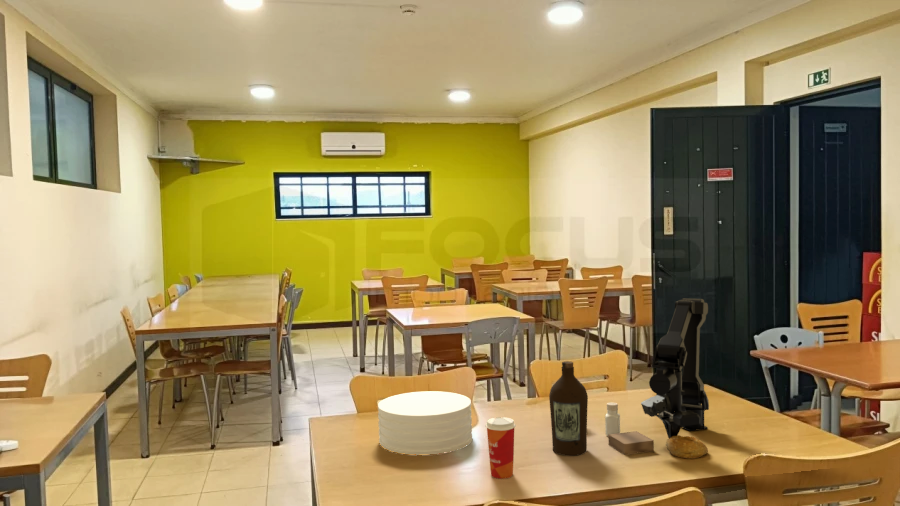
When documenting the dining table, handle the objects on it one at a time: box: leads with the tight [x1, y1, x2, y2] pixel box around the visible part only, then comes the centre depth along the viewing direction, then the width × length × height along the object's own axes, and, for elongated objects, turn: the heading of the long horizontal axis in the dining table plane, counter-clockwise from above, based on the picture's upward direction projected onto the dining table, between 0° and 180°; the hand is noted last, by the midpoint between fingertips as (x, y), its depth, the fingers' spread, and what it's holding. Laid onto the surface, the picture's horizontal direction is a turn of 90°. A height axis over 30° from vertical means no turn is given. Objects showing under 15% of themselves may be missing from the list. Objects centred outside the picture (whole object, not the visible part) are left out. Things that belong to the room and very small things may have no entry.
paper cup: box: [485, 416, 516, 480], centre depth 172 cm, size 8×8×14 cm
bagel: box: [665, 434, 709, 459], centre depth 184 cm, size 10×11×5 cm
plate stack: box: [377, 390, 473, 456], centre depth 203 cm, size 28×28×12 cm
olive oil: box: [548, 360, 589, 457], centre depth 189 cm, size 11×11×25 cm
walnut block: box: [607, 430, 655, 456], centre depth 190 cm, size 9×9×3 cm
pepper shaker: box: [604, 402, 621, 437], centre depth 201 cm, size 4×4×10 cm
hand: (671, 441), depth 189 cm, fingers closed
